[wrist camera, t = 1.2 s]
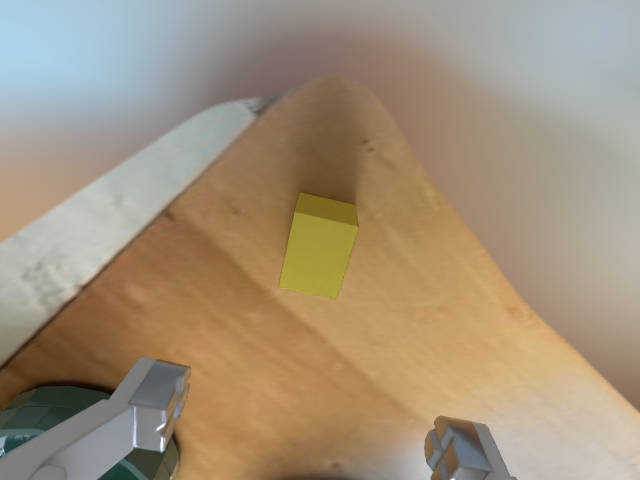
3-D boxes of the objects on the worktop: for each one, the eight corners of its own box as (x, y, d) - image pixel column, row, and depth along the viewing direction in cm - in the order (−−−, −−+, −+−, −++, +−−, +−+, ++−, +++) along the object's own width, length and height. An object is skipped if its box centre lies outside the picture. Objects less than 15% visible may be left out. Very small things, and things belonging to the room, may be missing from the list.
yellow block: (300, 191, 21) (294, 211, 18) (355, 204, 21) (359, 226, 18) (285, 259, 23) (278, 287, 20) (335, 270, 23) (336, 300, 20)
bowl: (-9, 364, 29) (-66, 411, 24) (186, 400, 30) (163, 451, 26) (21, 476, 36) (-20, 527, 32) (177, 502, 37) (158, 554, 33)
